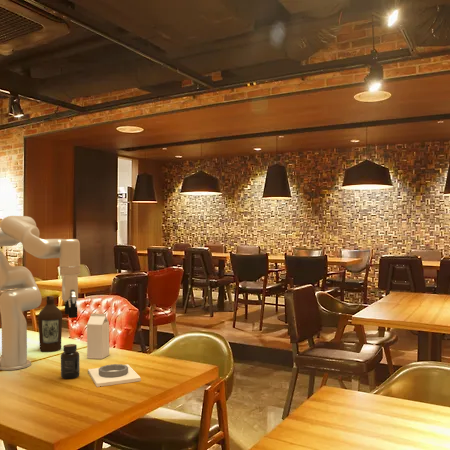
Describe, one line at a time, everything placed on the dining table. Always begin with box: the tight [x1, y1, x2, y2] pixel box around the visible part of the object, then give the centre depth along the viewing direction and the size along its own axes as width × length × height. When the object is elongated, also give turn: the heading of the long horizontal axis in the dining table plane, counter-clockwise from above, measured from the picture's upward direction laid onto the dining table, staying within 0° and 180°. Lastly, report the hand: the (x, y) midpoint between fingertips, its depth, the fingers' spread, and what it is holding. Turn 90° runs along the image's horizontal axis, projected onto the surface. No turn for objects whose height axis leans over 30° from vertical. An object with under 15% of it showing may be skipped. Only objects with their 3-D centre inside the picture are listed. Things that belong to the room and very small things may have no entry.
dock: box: [87, 363, 142, 388], centre depth 188 cm, size 16×20×3 cm
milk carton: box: [86, 313, 110, 360], centre depth 217 cm, size 7×7×19 cm
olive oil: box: [37, 295, 63, 353], centre depth 231 cm, size 11×11×25 cm
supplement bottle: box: [60, 343, 81, 380], centre depth 188 cm, size 7×7×12 cm
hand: (71, 315), depth 189 cm, fingers open, 9 cm apart
